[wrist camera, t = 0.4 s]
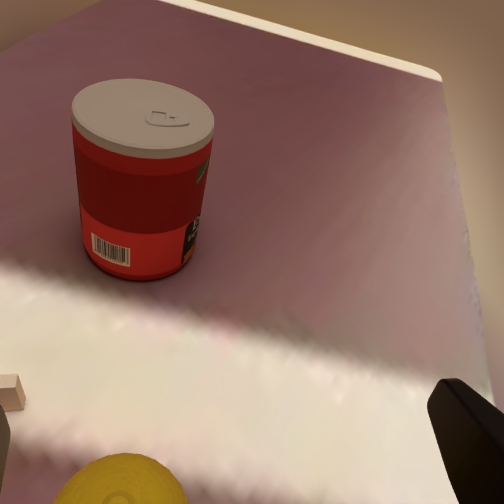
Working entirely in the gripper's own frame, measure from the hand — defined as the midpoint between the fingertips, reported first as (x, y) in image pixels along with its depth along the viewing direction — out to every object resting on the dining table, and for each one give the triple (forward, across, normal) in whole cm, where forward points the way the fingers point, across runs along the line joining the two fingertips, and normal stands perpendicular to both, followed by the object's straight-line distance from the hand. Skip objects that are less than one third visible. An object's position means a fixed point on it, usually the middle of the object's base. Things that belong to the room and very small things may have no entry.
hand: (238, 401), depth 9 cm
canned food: (+22, +3, +12) cm, 26 cm away
